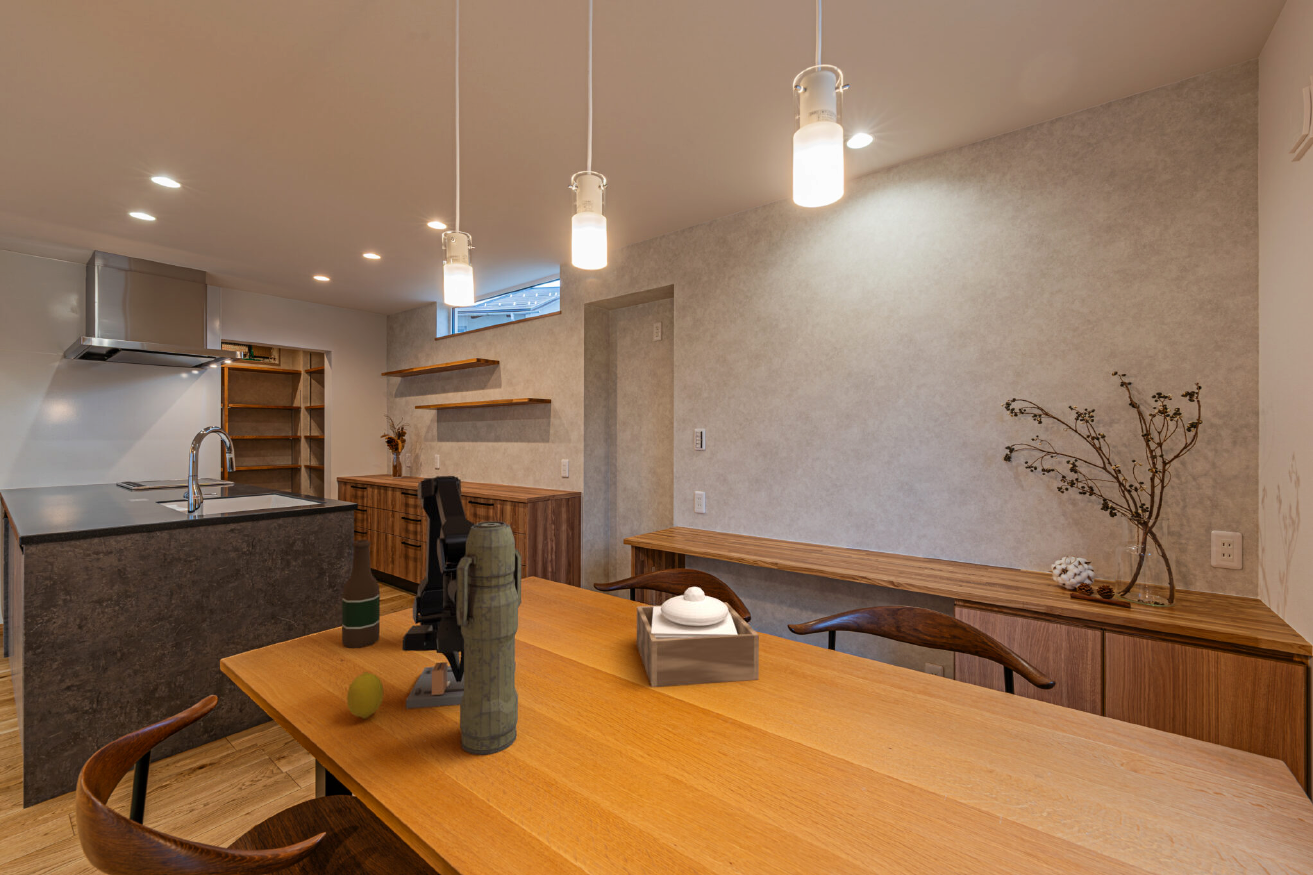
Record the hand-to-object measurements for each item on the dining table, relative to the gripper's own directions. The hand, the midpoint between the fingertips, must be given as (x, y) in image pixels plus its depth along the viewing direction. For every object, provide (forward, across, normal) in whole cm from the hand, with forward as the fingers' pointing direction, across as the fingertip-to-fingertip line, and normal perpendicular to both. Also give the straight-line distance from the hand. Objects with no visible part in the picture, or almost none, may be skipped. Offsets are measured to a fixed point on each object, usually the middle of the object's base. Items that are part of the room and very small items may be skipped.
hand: (459, 681), depth 103 cm
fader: (+1, -3, 0) cm, 4 cm away
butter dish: (+3, +47, +10) cm, 49 cm away
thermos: (+4, +7, -15) cm, 17 cm away
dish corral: (+3, +47, +10) cm, 49 cm away
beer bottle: (+3, -28, +32) cm, 43 cm away
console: (+3, 0, +5) cm, 6 cm away
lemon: (+4, -15, -5) cm, 16 cm away
